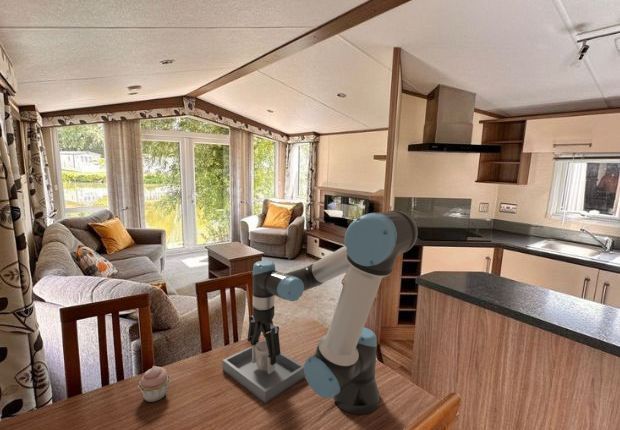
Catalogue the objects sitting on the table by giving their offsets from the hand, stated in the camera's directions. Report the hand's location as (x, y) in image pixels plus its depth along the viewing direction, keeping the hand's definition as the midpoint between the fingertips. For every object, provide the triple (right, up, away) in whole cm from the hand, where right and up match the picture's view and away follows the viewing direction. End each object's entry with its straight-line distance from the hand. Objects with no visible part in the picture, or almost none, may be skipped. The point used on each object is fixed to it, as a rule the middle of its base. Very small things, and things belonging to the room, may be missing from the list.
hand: (263, 366), depth 112 cm
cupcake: (-33, -4, -12) cm, 35 cm away
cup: (+1, -1, 0) cm, 1 cm away
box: (0, -3, 0) cm, 3 cm away
